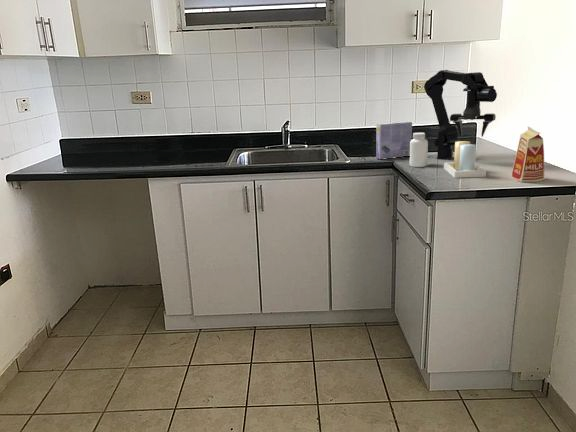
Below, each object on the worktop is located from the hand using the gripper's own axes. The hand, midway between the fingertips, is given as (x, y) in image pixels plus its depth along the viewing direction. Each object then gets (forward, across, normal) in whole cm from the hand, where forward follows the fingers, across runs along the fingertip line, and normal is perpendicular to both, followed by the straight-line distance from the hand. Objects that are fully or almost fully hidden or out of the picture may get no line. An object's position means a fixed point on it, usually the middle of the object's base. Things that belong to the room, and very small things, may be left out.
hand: (471, 136), depth 226 cm
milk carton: (+12, +28, -30) cm, 43 cm away
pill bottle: (+12, -20, -14) cm, 27 cm away
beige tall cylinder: (+12, +1, -21) cm, 24 cm away
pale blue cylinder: (+12, +5, -29) cm, 32 cm away
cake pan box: (+12, -38, +4) cm, 40 cm away
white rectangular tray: (+12, +3, -25) cm, 28 cm away
